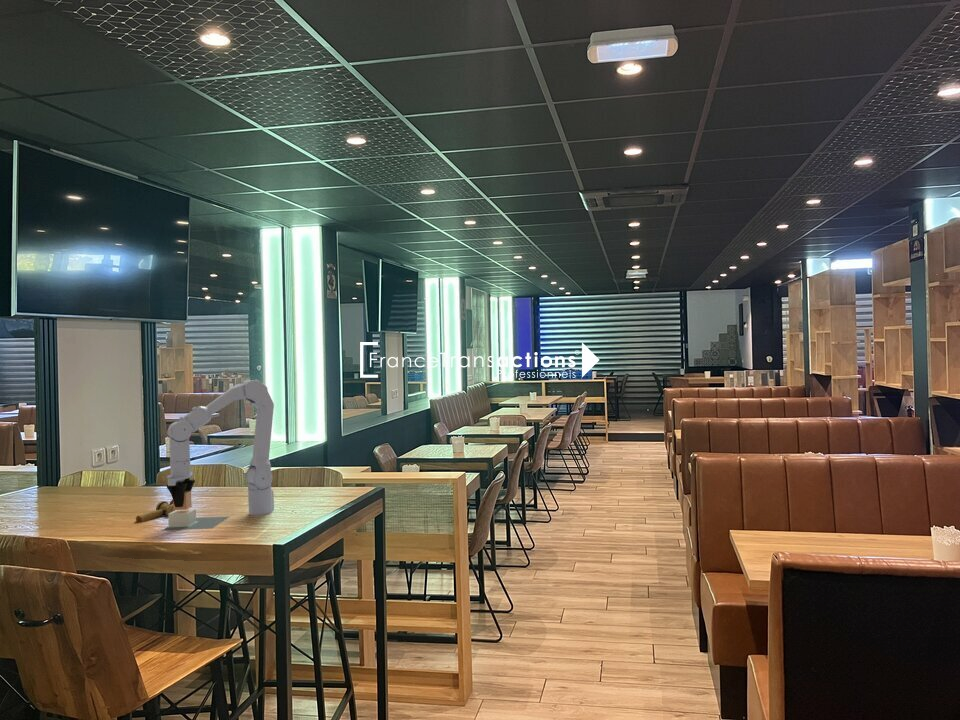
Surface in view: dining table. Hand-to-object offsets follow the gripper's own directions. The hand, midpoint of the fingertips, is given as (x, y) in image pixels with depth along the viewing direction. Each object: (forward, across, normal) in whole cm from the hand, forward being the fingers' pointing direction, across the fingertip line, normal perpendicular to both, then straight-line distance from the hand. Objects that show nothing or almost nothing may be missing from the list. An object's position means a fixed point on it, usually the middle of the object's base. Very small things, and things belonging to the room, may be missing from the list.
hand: (181, 505), depth 222 cm
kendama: (+7, -14, -12) cm, 20 cm away
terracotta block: (+1, 0, 0) cm, 1 cm away
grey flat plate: (+7, -1, +4) cm, 8 cm away
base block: (+6, 0, 0) cm, 6 cm away
